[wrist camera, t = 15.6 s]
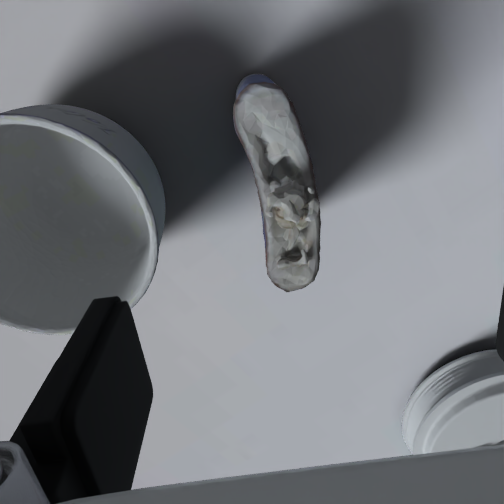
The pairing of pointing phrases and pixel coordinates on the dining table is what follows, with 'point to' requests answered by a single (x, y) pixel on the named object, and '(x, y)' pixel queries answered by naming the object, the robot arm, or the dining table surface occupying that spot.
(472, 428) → the lid
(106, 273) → the teacup
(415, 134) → the dining table surface
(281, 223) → the dark blue piece
